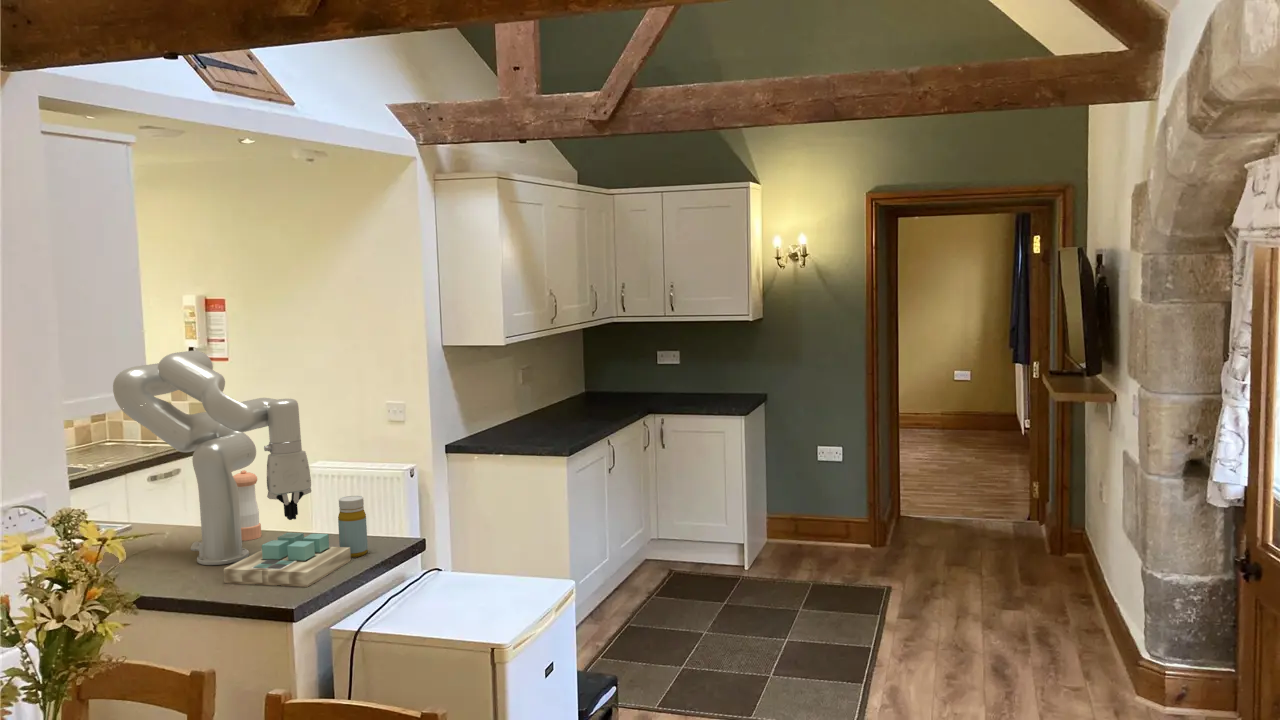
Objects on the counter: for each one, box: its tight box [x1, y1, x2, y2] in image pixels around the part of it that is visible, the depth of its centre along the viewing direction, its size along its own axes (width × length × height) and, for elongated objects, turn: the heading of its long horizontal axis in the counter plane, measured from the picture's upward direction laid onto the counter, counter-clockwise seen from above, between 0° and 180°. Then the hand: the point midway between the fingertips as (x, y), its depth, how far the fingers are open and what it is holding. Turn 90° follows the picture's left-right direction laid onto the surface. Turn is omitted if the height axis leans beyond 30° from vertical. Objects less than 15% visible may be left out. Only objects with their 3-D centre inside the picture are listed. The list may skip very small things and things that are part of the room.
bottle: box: [337, 495, 369, 559], centre depth 261 cm, size 7×7×15 cm
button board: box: [223, 546, 352, 588], centre depth 248 cm, size 22×21×4 cm
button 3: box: [287, 541, 315, 561], centre depth 247 cm, size 5×5×4 cm
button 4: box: [303, 533, 330, 552], centre depth 254 cm, size 5×5×4 cm
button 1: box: [261, 539, 289, 560], centre depth 249 cm, size 5×5×4 cm
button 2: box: [277, 532, 305, 545], centre depth 255 cm, size 5×5×4 cm
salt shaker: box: [233, 469, 262, 542], centre depth 281 cm, size 7×7×19 cm
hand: (291, 518), depth 255 cm, fingers closed
